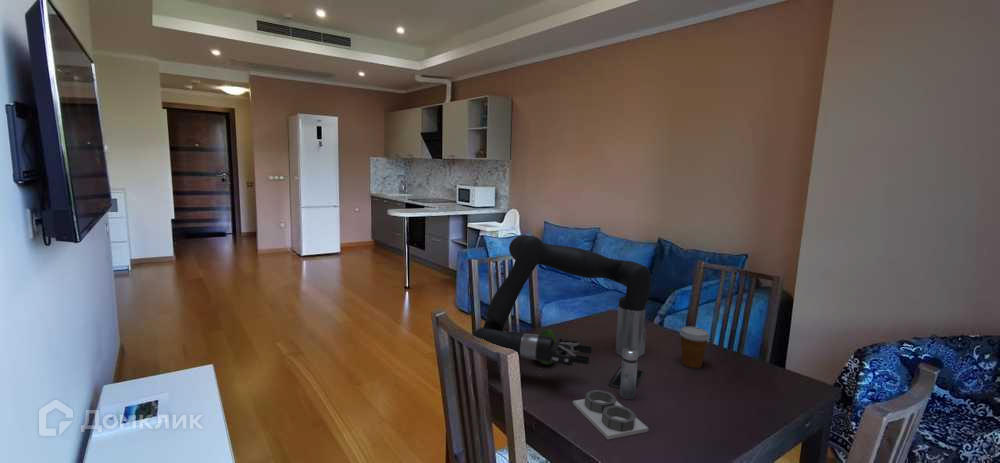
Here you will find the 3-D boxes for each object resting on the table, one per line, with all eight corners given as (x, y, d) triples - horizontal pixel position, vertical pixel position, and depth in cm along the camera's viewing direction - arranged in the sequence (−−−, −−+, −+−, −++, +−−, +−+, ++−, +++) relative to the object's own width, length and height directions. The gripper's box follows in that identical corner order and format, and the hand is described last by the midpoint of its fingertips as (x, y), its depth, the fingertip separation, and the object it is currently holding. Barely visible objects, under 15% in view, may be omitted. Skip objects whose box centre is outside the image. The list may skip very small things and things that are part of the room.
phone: (608, 383, 146) (620, 365, 159) (607, 387, 146) (620, 369, 159) (634, 390, 142) (644, 371, 155) (633, 393, 142) (644, 374, 155)
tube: (629, 391, 143) (632, 346, 141) (638, 398, 139) (641, 352, 137) (616, 393, 141) (619, 348, 139) (625, 400, 137) (628, 354, 135)
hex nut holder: (609, 398, 138) (610, 386, 138) (648, 431, 121) (649, 419, 121) (572, 404, 134) (573, 392, 134) (607, 439, 117) (608, 426, 117)
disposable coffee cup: (676, 366, 161) (679, 333, 160) (677, 356, 170) (680, 324, 168) (706, 372, 158) (710, 337, 156) (706, 361, 167) (709, 328, 165)
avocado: (557, 359, 164) (558, 326, 162) (557, 369, 156) (559, 334, 155) (534, 358, 165) (535, 324, 163) (533, 367, 157) (534, 333, 155)
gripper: (532, 343, 138) (589, 351, 134) (541, 328, 152) (593, 335, 148) (531, 367, 139) (587, 376, 135) (540, 350, 153) (591, 358, 149)
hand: (590, 355), depth 141 cm, fingers open, 8 cm apart
